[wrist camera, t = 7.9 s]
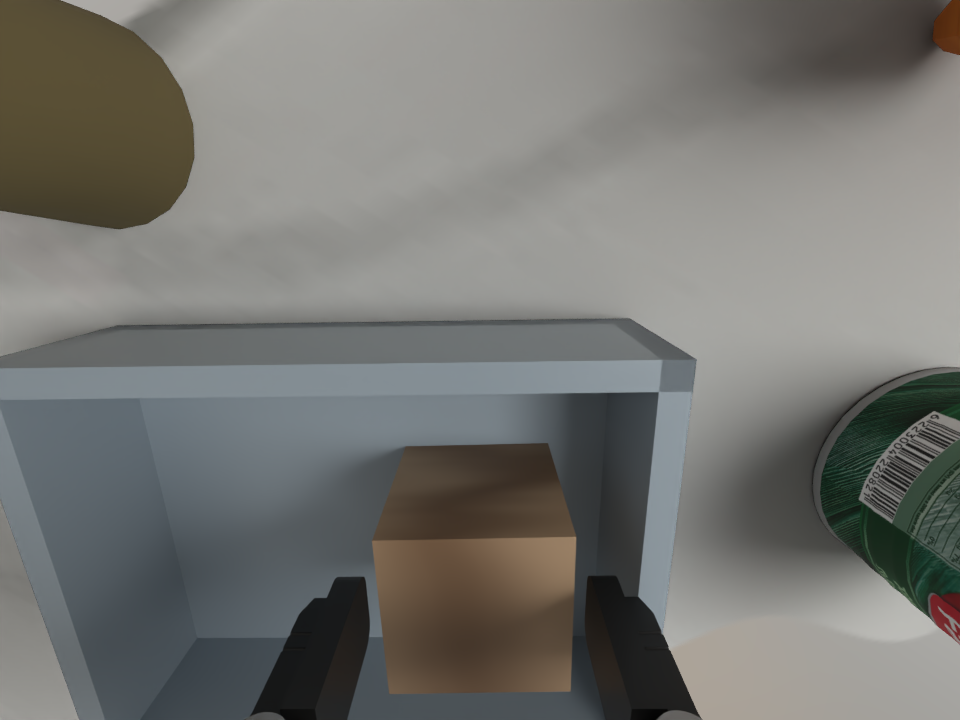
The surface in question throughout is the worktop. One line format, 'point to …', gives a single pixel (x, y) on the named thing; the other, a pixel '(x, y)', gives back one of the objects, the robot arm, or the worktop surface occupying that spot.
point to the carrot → (948, 28)
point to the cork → (87, 119)
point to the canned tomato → (901, 488)
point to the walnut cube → (476, 571)
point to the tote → (310, 489)
